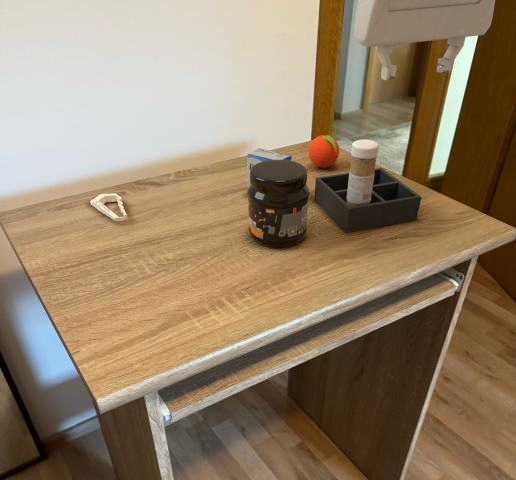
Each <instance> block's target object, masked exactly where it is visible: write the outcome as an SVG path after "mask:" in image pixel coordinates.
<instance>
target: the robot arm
mask: <svg viewBox="0 0 516 480" xmlns="http://www.w3.org/2000/svg"><path fill="white" fill-rule="evenodd" d="M495 4H496V0H357V5H356V11H355V19H354V29H353V33H354V38H355V40H356V42H357V43H358V45H361V46H363V47H367V48H374V47H376V54H377V57H378V60H379V62H380V65H381V73H380V78H381V80H383V81H392V80H395V79H396V77H397V74H396V73H397V70H398V66H397V65H394V64H392V61H391V57H390V54H391V55H392V54H393V53H394V45H403V44H412V43H421V42H422V43H423V42H431V41H439V40H447V45H449V46H448V47H447V49H446V51H445V53H444V55H443V56H442V57H439V58H438V59H437V66H436V72H437V73H439V74H450V73H451V72H452V70H453V65H454V62H455V60H456V58H457V57H458V55H459V54H460V52H461V50H462V49H463V48H464V46H465V41H466V38H468V37H478V36H479V37H480V36H484V35H485V34H486V33H487V31H488V30H489V29H490V27H491V25H492V21H493V17H494V11H495Z"/></svg>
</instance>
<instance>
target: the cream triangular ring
mask: <svg viewBox="0 0 516 480" xmlns="http://www.w3.org/2000/svg"><path fill="white" fill-rule="evenodd" d="M113 202H117V205H118V208H119V211H120V213H121V214H122V215H123V216H118V215H117V214H116V213H115V212H113V211H112V210H111V209H110V208H109V207H107V206H106V205H105V204H106V203H113ZM89 203H90V205H91V206H92V207H94V208H95V209H96V210H98V211H99V212H100V213H102V214H103V215H105V216H107V217H109V218H110V219H111V220H112V221H114V222H122V221H125V220H126V219H127V218H128V213H127V212H126V210H125V207H124V203H123V198H122V197H121V196H120V195H118V194H117V193H115V192H114V193H100V194H99V195H97V196H96V197H95V198H92V199H91V200H90V202H89Z"/></svg>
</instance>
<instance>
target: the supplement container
mask: <svg viewBox="0 0 516 480" xmlns="http://www.w3.org/2000/svg"><path fill="white" fill-rule="evenodd" d="M307 182H308V169H307V167H306V166H304V164H301V163H300V162H297V161H294V160H291V161H289V160H268V161H263V162H260V163H257V164H255V165H254V166H253V167H252V168H251V169H250V183H251V184H250V185H249V187H248V186H247V190H246V193H247V207H248V234H249V236H250V238H251V239H252V240H253V241H254V242H256V243H258V244H259V245H262V246H265V247H269V248H285V247H291V246H294V245H295V244H298V243H299V242H301V241H302V240H303V239H304V238H305V236H306V234H307V230H308V227H307V225H308V223H307V222H308V209H309V208H308V206H309V205H308V204H309V197H310V188H309V186H308V185H307Z"/></svg>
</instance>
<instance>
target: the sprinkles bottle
mask: <svg viewBox="0 0 516 480" xmlns="http://www.w3.org/2000/svg"><path fill="white" fill-rule="evenodd" d="M379 148H380V144H379V143H378V142H377V141H375V140H372V139H357V140H355V141H353V142H352V144H351V150H350V154H351V157H350V159H351V161H350V168H349V171H348V173H349V181H348V190H347V202H346V203H347V204H348V205H349V206H350V207H354V206H360V205H366V204H370V201H371V195H372V188H373V181H374V174H375V173H374V171H375V169H376V163H377V158H378V155H379Z"/></svg>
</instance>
